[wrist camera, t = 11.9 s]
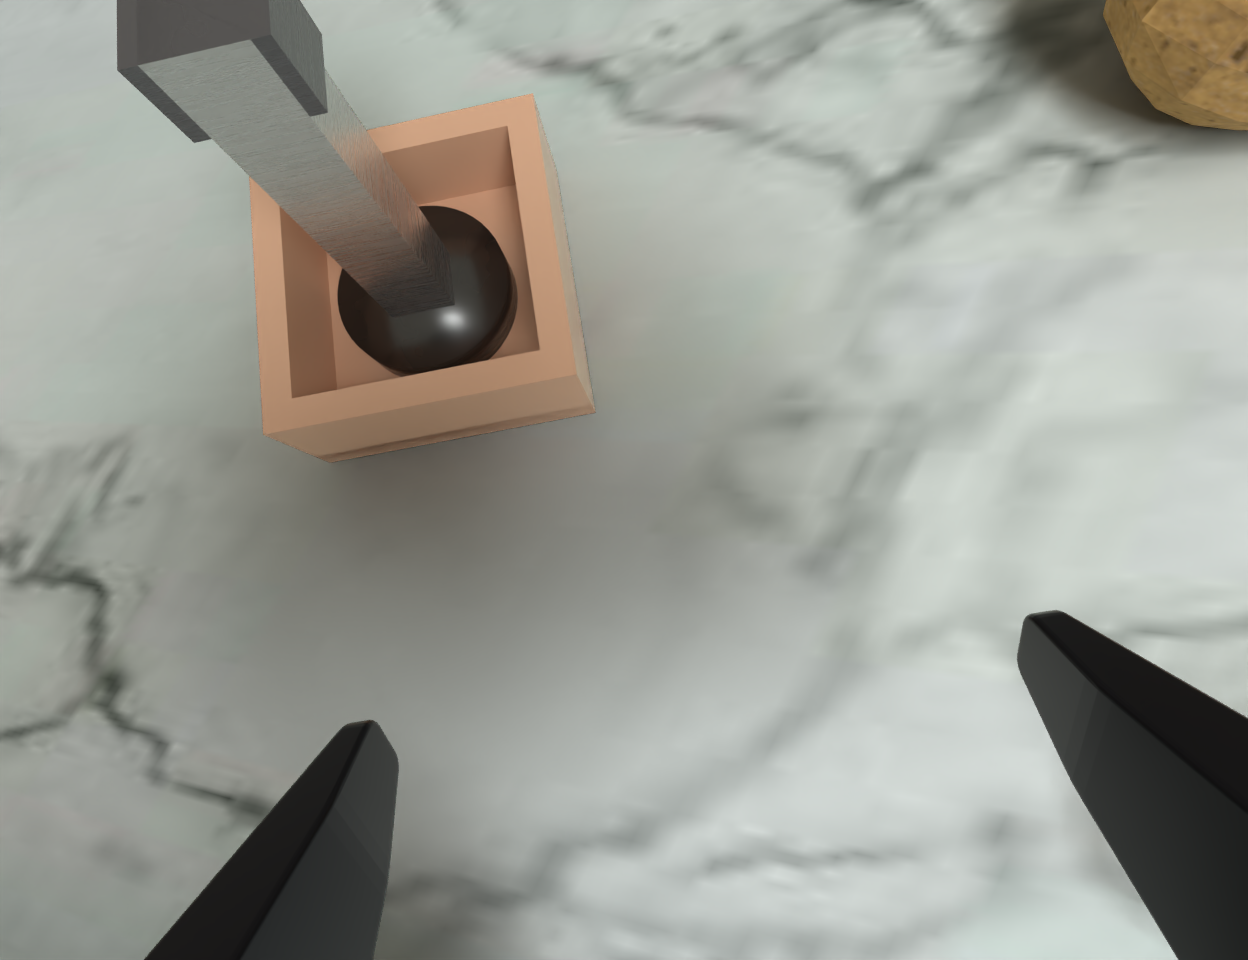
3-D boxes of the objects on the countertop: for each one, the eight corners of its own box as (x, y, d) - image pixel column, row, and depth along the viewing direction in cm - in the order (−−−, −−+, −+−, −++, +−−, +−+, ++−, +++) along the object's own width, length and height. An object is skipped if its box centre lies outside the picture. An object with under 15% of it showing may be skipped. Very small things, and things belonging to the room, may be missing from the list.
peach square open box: (595, 412, 25) (576, 374, 21) (329, 462, 25) (263, 434, 21) (556, 169, 27) (533, 93, 23) (311, 222, 27) (248, 156, 24)
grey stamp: (528, 365, 24) (358, 110, 12) (364, 396, 25) (40, 181, 12) (506, 214, 25) (333, -155, 13) (352, 246, 26) (45, -83, 14)
